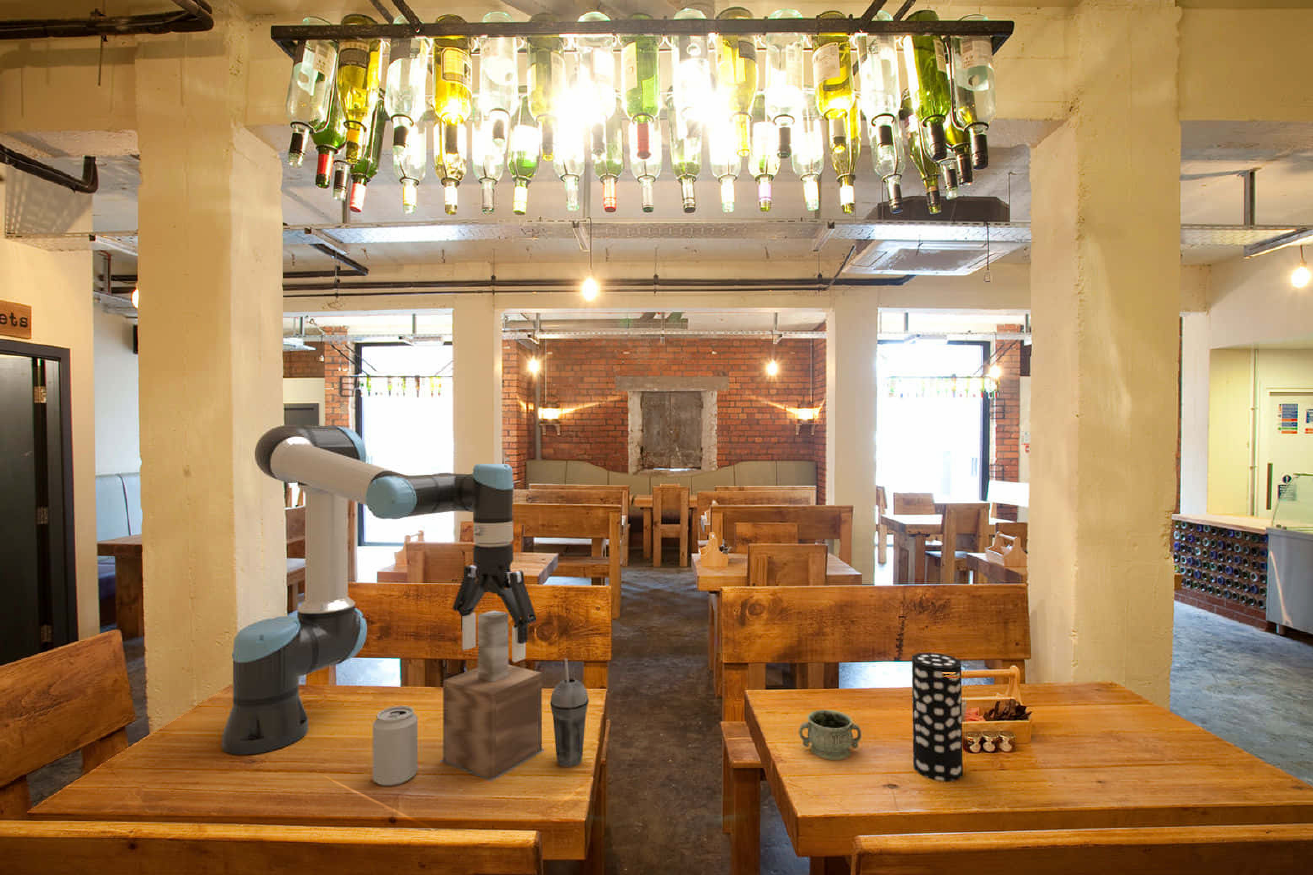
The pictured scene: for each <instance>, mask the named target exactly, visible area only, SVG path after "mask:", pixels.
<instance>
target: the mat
mask: <svg viewBox="0 0 1313 875" xmlns="http://www.w3.org/2000/svg"><path fill="white" fill-rule="evenodd" d="M544 751H546V749H545V748H542V750H541V751H539V752H537V753H536V754H534V755H532V756H531V757H529V758H527V759H525V760H524V761H522V762H520V763H518V764H517V765H515V766H513V767H512V768H510V769H508V770H506V771H505V772H503V773H501V774H500V775H498V776H496V777H494V778H493V779H490V778H487V777H485V776H482V775H480V774H477V773H475V772H472V771H469V770H467V769H464V768H462V767H459V766H457V765H454V764H451V763H449V762H446V761H444V760H443V758H442V759H440V760H439V762H441V763H443V764H446V765H449V766H451V767H453V768H456V769H459V770H461V771H464V772H466V773H469V774H471V775H474V776H476V777H479V778H482V779H484V780H487V781H489V782H493V781H495V780H496V779H498V778H500V777H502V776H503V775H505V774H507V773H508V772H510V771H512V770H513V769H515V768H517V767H518V766H520V765H522V764H523V763H525V762H528V761H529V760H531V759H532V758H534V757H536V756H537V755H540V754H541V753H542V752H544Z"/></svg>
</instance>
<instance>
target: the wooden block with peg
mask: <svg viewBox="0 0 1313 875" xmlns="http://www.w3.org/2000/svg"><path fill="white" fill-rule="evenodd" d="M477 641H478V642H477V667H475V668H473V669H469V670H468V671H465V672H462V673H460V674H459V673H458V674H457V675H455V676H454V675H453V676H452V677H449V678H446V679H444V680H443V681H442V682H443V683H442V684H443V685H442V688H443V691H442V692H443V693H442V695H443V696H442V699H443V700H442V704H443V706H442V707H443V709H442V710H443V712H442V717H443V718H442V720H443V722H442V737H443V738H442V752H443V753H442V756H443V758H442V759H443V760H444V761H446V762H449V763H451V764H454V765H457V766H459V767H462V768H464V769H467V770H469V771H472V772H475V773H477V774H480V775H482V776H485V777H487V778H490V779H493V778H494V777H496V776H498V775H500V774H501V773H503V772H505V771H506V770H508V769H510V768H512V767H513V766H515V765H517V764H518V763H520V762H522V761H524V760H525V759H527V758H529V757H531V756H532V755H534V754H536V753H537V752H539V751H541V750H542V749H543V745H542V744H543V741H542V740H543V734H542V731H543V728H542V727H543V726H542V725H543V722H542V721H543V719H542V718H543V711H542V709H543V706H542V705H543V703H542V702H543V697H542V696H543V690H542V689H543V687H542V686H543V684H542V683H543V682H542V681H543V680H542V679H543V678H542V677H543V674H542V672H541V671H536V670H532V669H528V668H524V667H521V666H516V665H511V664H509V612H504V611H499V610H491V611H487V612H484V613H483V612H482V613H480V614H478V615H477Z"/></svg>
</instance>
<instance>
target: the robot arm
mask: <svg viewBox="0 0 1313 875" xmlns="http://www.w3.org/2000/svg"><path fill="white" fill-rule="evenodd" d="M254 459H255V460H254V461H255V463H256V465H257V467H258V469H259V470H260V471H261V472H263V473H264V474H265V475H266V476H268V477H269V478H271V479H274V480H278V481H280V482H283V483H288V484H292V483H293V484H294V483H297V487H298V489H299V490H301V491H302V492H303V493H304V497H305V498H304V500H305V501H304V502H305V503H304V505H305V506H304V507H305V508H304V511H305V512H304V513H305V514H304V520H305V521H304V523H305V526H304V528H305V530H304V536H305V540H304V542H305V543H304V546H305V547H304V551H305V553H304V554H305V555H304V556H305V558H304V562H305V563H304V564H305V565H304V566H305V568H304V569H305V570H304V574H305V576H304V585H305V586H304V589H305V590H304V591H305V593H304V594H305V597H304V599H305V600H304V602H303V603H301V604H300V605H299V606H298V607H297V616H296V617H295V616H292V615H291V616H290V615H288V616H286V615H285V616H283V615H282V616H277V617H273V618H266V619H263V620H262V619H261V620H259V621H256V622H253V623H252V624H249V625H247V626H245V627H243V628H241V630H239V631H238V632H237V634H236V635H235V637H234V640H233V646H232V648H233V649H232V654H231V657H232V707H231V711H230V713H229V716H228V719H227V722H226V724H225V727H224V730H223V732H222V735H221V748H222V750H223V751H224V752H225V753H228V754H231V755H232V754H234V755H253V754H254V755H255V754H261V753H267V752H271V751H275V750H278V749H280V748H284V747H286V746H289V745H291V744H293V743H296V742H298V741H299V740H301V739H302V738H303V737H305V736H306V735H307V733H308V732H309V717H308V715H307V712H306V710H305V707H304V704H303V702H302V699H301V697H300V688H299V687H300V686H299V685H300V677H303V676H305V675H308V674H311V673H314V672H317V671H320V670H323V669H325V668H328V667H331V666H337V665H340V664H342V663H344V662H345V661H347V660H350V659H353V658H355V657H356V656H357V654H358V653H360V651H361V650H362V648H364V644H365V642H366V641H367V640H366V639H367V634H368V632H367V631H368V628H367V627H368V625H367V621H366V618H364V614H363V613H362V611H361V610H360V609H359V608H356V602H355V601H354V600H353V599H352V598H350V597H349V592H348V591H349V590H348V589H349V575H348V574H349V573H348V572H349V571H348V570H349V569H348V568H349V562H348V561H349V554H348V552H349V548H348V547H349V546H348V542H349V541H348V539H349V538H348V537H349V535H348V534H349V533H348V529H349V525H348V521H349V518H348V517H349V516H348V515H349V514H348V513H349V512H348V511H349V510H348V508H349V506H348V505H349V504H348V503H349V502H348V501H349V500H350V501H353V502H355V503H358V504H361V505H365V506H366V507H367V508H368V510H369V511H370V512H371V513H372V515H373V517H375V518H377V519H381V520H386V519H387V520H389V519H390V520H400V519H403V518H409V517H416V516H417V517H418V516H424V515H425V516H426V515H432V514H433V515H434V514H439V513H448V512H449V513H450V512H469V513H472V522H473V523H472V524H473V526H472V528H473V529H472V531H473V532H472V533H473V536H472V537H473V538H472V540H473V542H474V543H475V545H474V546H473V547H472V556H473V557H472V563H473V564H471V565H466V566H465V567H464V569H463V578H462V581H461V584H460V587H459V590H458V592H457V595H456V598H455V600H454V604H453V606H452V609H453V611H454V612H458V613H459V615H460V629H461V631H462V633H461V634H462V637H461V638H462V644H461V645H462V651H467V650H470V649H473V648H475V647H476V646H477V642H476V641H477V640H476V639H477V636H476V635H477V633H476V632H477V629H476V625H477V622H476V621H477V620H476V619H477V616H476V615H477V614H476V613H475V612H476V610H475V609H476V607H477V606H478V604H479V602H480V601H481V599H482V598H483V597H484V594H485V593H492V594H496V595H497V597H498V598H500V599H501V601H502V602H503V604H504V605H505V608H506V610H507V611H508V614H509V615H510V616H511V620H513V622H514V625H512V626H511V633H512V634H511V638H512V639H511V645H512V646H511V649H512V650H511V651H512V652H511V656H512V658H511V662H513V663H517V662H520V661H522V660H525V659H526V654H527V652H526V648H527V647H526V643H527V642H528V640H529V639H528V637H529V636H528V635H529V634H528V629H529V624H533V623H535V622H536V621H537V619H538V618H537V616H536V613H535V609H534V607H533V604H532V601H531V598H530V595H529V592H528V589H527V587H526V583H525V577H524V576H525V575H524V571H523V570H518V571H512V570H511V564H512V563H513V562H514V545H513V544H512V543H511V542H513V541H514V516H513V509H514V508H513V507H514V505H513V504H514V488H515V484H514V476H513V468H512V466H511V465H509V464H508V463H479V464H475V465H474V466H473V469H472V470H473V471H472V473H451V472H439V473H433V474H432V473H431V474H418V475H408V474H403V473H400V472H397V471H393V470H391V469H387V468H385V467H381V466H377V465H375V464H371V463H368V462H367V450H366V445H365V443H364V441H363V439H362V438H361V437H360V436H359V435H358V433H357V432H356V431H354V429H352V428H349V427H343V426H337V425H305V424H303V425H302V424H301V425H299V424H285V425H280V426H276V427H274V428H271V429H270V430H268V431H266V432H265V433H264V434H263V435H262V436H261V437H260V438H259V439H258V441H257V443H256V445H255V448H254Z"/></svg>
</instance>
